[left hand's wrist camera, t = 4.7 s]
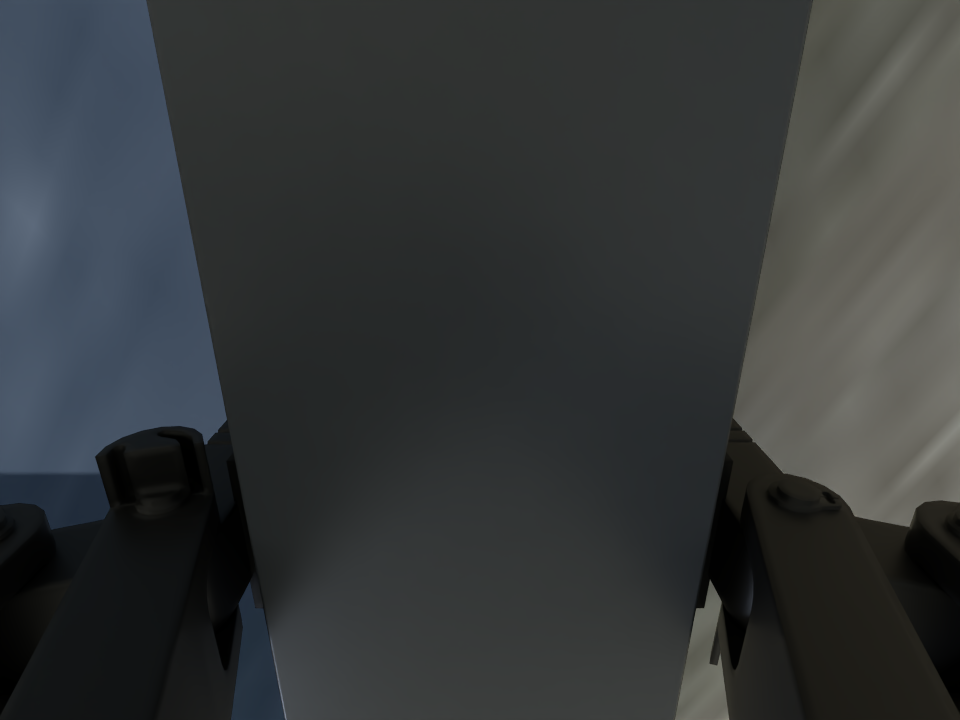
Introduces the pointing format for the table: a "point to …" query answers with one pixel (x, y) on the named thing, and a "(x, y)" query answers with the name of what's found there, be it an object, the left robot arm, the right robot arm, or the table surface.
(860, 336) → the table surface
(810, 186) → the table surface
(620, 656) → the post
